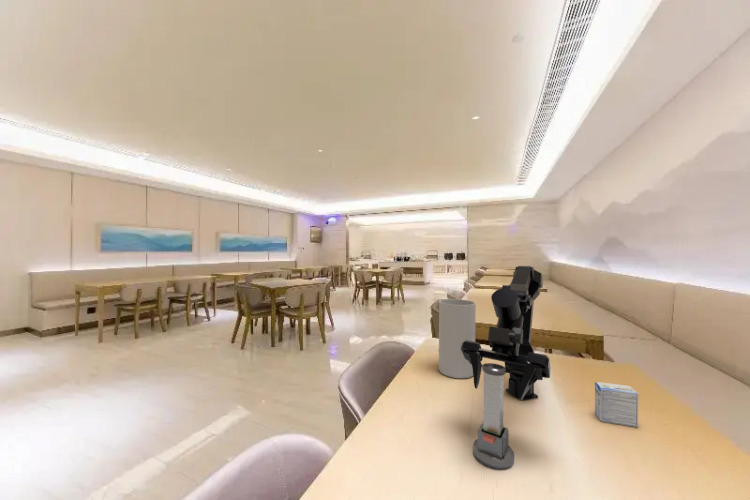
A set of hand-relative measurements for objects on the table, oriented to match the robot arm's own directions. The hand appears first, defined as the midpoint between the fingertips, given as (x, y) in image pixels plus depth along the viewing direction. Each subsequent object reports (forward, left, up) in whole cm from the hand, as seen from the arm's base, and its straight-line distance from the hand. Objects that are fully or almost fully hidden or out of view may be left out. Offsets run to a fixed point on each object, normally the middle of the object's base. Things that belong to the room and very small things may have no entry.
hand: (496, 393), depth 65 cm
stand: (+2, +2, -12) cm, 12 cm away
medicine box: (-37, -1, -12) cm, 39 cm away
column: (+2, +2, -6) cm, 7 cm away
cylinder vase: (-14, -39, -12) cm, 44 cm away
